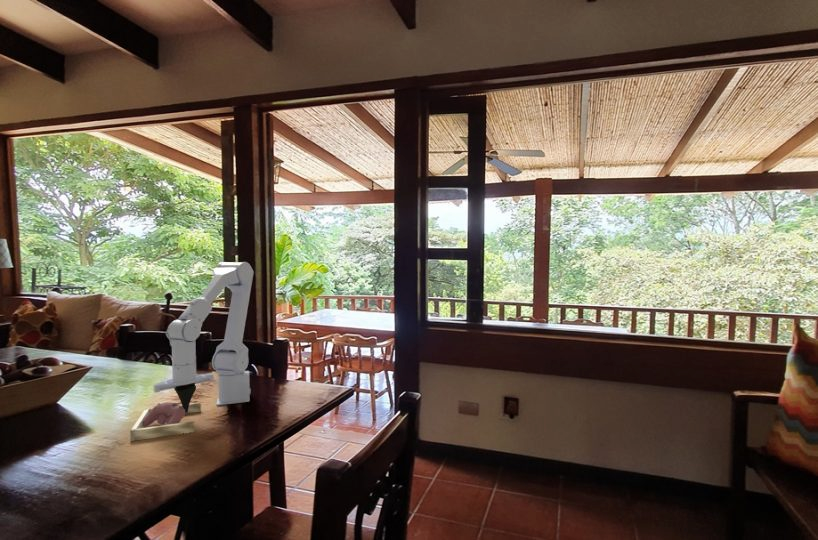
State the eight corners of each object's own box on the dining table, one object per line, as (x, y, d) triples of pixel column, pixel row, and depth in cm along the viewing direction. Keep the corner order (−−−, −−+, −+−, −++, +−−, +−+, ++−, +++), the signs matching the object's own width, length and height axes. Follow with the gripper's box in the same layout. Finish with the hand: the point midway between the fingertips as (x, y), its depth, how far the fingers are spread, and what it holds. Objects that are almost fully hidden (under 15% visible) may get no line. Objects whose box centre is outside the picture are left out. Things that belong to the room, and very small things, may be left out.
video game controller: (181, 432, 108) (190, 405, 111) (168, 431, 104) (178, 403, 107) (153, 427, 111) (163, 401, 114) (139, 426, 108) (150, 398, 110)
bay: (200, 410, 120) (200, 402, 120) (193, 432, 105) (193, 422, 105) (145, 417, 115) (145, 408, 115) (130, 441, 100) (130, 431, 100)
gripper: (207, 355, 119) (208, 401, 120) (150, 365, 109) (151, 414, 110) (215, 360, 114) (216, 407, 115) (156, 370, 104) (157, 422, 105)
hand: (185, 411), depth 112 cm, fingers closed, pressing on video game controller
